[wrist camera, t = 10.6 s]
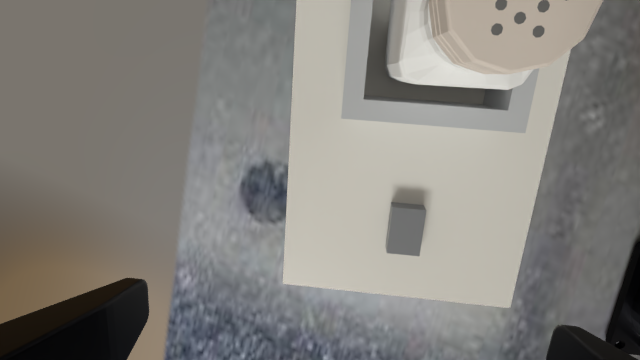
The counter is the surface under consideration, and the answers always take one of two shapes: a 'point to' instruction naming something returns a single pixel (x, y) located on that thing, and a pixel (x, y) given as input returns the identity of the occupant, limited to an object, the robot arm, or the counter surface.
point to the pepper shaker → (481, 39)
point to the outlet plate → (406, 167)
